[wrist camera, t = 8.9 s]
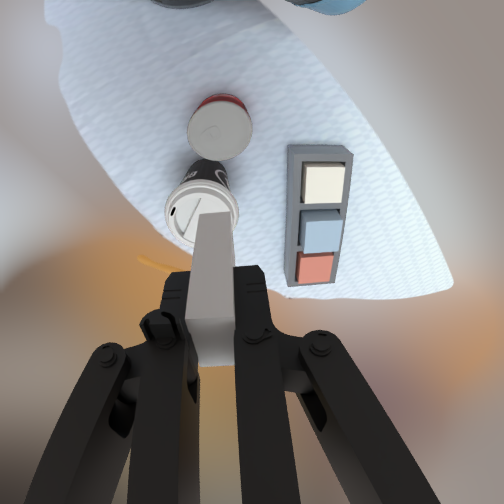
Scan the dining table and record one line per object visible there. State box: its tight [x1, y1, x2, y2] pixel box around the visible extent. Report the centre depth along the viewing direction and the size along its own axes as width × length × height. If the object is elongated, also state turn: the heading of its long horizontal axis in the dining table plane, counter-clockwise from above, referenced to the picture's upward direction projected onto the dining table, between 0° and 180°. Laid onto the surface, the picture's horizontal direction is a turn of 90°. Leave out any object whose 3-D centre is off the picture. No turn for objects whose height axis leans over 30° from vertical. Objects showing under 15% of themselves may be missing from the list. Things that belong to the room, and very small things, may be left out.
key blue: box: [299, 209, 343, 254], centre depth 49 cm, size 6×6×4 cm
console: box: [284, 145, 354, 287], centre depth 52 cm, size 26×9×5 cm, turn 2°
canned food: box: [187, 94, 252, 161], centre depth 38 cm, size 8×8×11 cm
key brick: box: [295, 251, 334, 284], centre depth 55 cm, size 6×6×4 cm
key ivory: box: [300, 161, 345, 204], centre depth 45 cm, size 6×6×4 cm
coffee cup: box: [165, 159, 239, 248], centre depth 42 cm, size 10×10×15 cm
